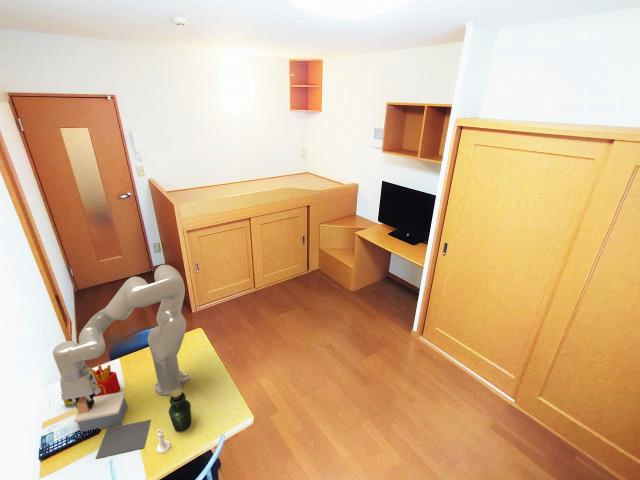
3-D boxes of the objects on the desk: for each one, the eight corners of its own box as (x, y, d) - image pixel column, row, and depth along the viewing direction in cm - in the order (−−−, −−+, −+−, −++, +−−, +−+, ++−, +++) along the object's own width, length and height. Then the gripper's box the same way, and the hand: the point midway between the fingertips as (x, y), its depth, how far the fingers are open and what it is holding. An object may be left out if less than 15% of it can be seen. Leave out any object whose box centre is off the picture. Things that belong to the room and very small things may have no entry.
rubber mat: (150, 420, 129) (150, 419, 129) (144, 448, 119) (143, 447, 119) (106, 429, 125) (106, 428, 125) (95, 459, 115) (95, 458, 114)
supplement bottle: (64, 410, 132) (57, 392, 129) (65, 400, 137) (59, 383, 133) (81, 404, 135) (74, 386, 131) (81, 394, 140) (75, 377, 136)
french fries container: (108, 401, 137) (101, 377, 132) (91, 397, 139) (82, 373, 133) (121, 388, 143) (114, 365, 138) (104, 385, 145) (96, 361, 140)
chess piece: (159, 441, 121) (154, 423, 117) (172, 440, 122) (168, 422, 118) (154, 454, 117) (149, 436, 113) (167, 453, 117) (163, 435, 113)
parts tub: (127, 406, 135) (124, 394, 132) (121, 425, 127) (117, 413, 124) (90, 413, 131) (85, 401, 129) (81, 433, 123) (76, 421, 121)
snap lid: (125, 393, 133) (122, 382, 130) (118, 413, 124) (115, 402, 122) (85, 400, 129) (81, 389, 127) (74, 422, 120) (70, 410, 118)
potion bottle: (183, 413, 133) (177, 381, 126) (197, 421, 130) (192, 388, 123) (167, 429, 126) (160, 396, 119) (182, 437, 123) (175, 404, 116)
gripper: (102, 360, 123) (112, 395, 130) (53, 368, 119) (66, 403, 126) (95, 375, 116) (106, 410, 123) (42, 383, 112) (57, 419, 119)
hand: (86, 406), depth 124 cm, fingers closed on snap lid, 3 cm apart
